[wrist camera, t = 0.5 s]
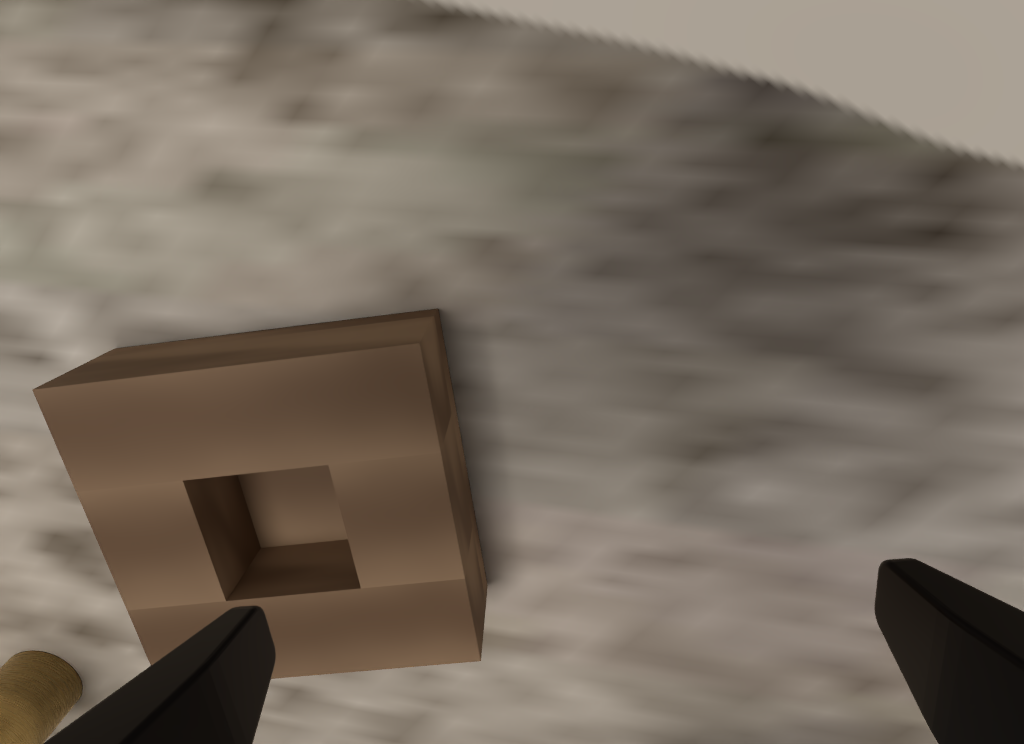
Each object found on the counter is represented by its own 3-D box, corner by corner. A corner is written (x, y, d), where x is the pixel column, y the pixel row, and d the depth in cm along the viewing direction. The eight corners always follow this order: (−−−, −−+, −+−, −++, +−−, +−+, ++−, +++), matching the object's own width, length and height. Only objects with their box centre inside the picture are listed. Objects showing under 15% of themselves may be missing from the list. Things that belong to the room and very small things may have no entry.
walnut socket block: (487, 585, 26) (480, 661, 22) (212, 611, 27) (160, 688, 23) (438, 308, 22) (419, 343, 18) (114, 348, 23) (32, 389, 19)
